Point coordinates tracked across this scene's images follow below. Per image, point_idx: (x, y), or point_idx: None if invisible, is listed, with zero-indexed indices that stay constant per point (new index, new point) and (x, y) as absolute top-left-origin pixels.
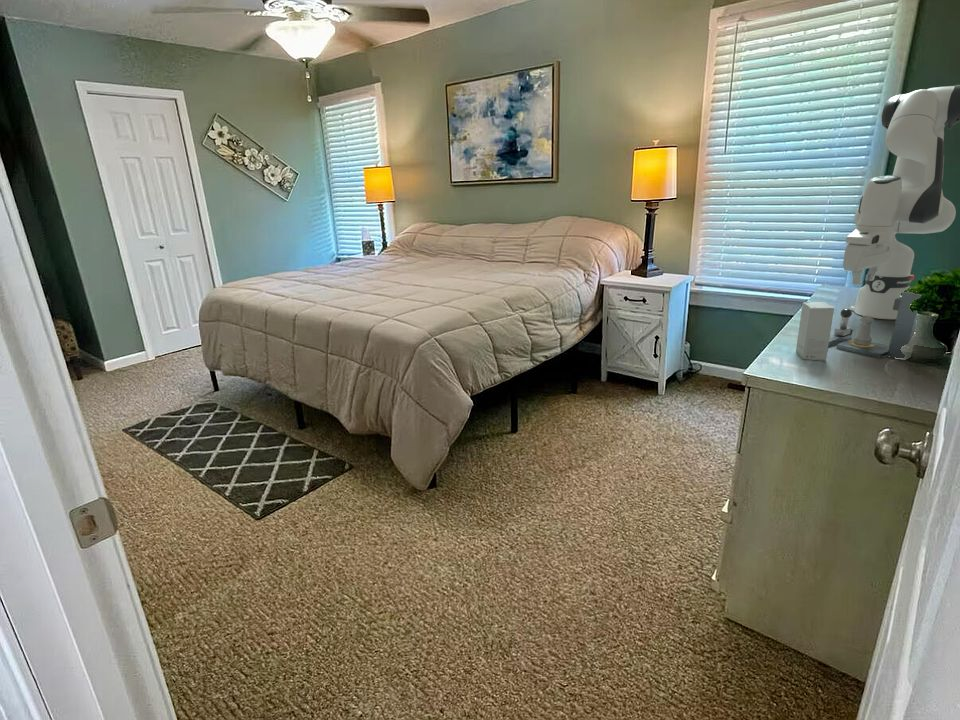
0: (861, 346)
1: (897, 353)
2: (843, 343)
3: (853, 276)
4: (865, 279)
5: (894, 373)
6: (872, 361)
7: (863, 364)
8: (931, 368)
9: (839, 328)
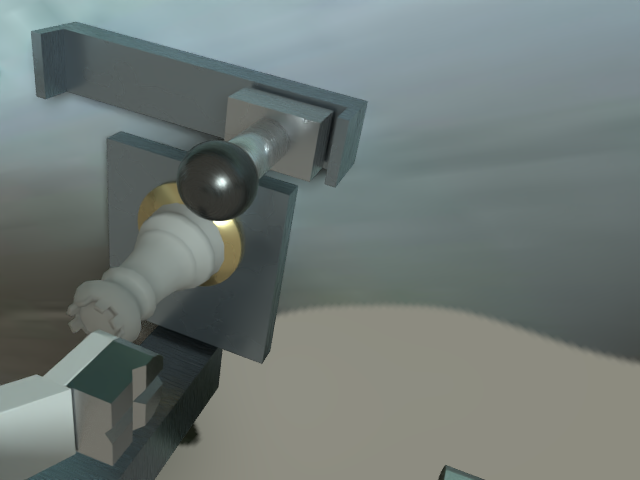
0: None
1: None
2: (143, 162)
3: (7, 391)
4: (442, 469)
5: (14, 336)
6: (70, 277)
7: (14, 254)
8: None
9: (243, 122)
